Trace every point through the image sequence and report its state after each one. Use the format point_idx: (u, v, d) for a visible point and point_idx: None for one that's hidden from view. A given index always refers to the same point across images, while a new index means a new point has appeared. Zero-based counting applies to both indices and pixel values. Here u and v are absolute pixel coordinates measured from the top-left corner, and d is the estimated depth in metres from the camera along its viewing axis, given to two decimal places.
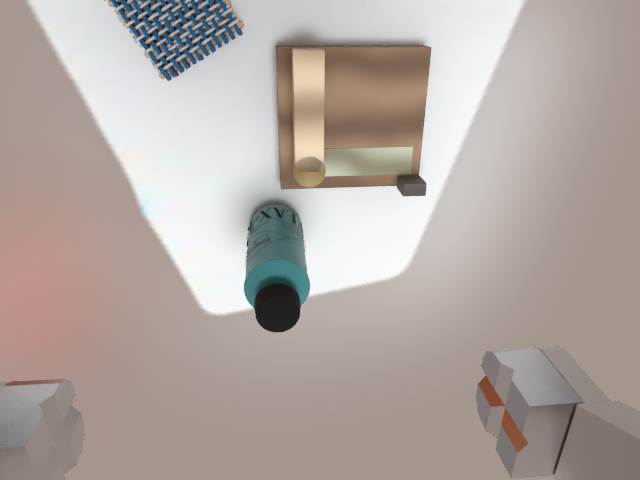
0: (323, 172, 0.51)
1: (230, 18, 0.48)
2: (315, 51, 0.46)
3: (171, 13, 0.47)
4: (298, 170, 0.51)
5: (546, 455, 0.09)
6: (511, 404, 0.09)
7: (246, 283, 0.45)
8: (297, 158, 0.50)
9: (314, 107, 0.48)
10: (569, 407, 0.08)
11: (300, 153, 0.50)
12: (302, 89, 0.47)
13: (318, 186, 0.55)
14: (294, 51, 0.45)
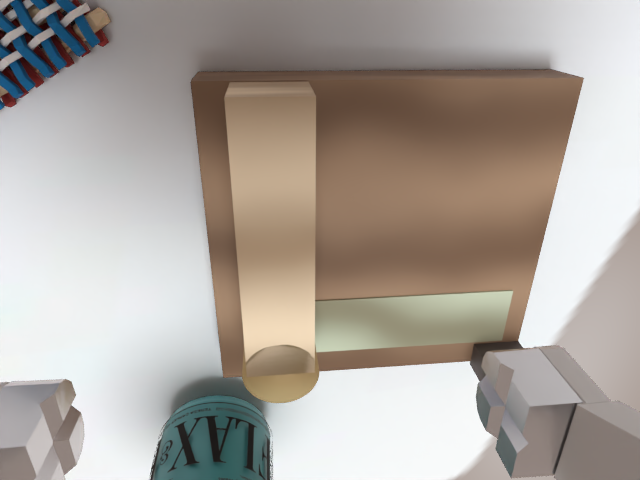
0: (314, 374, 0.21)
1: (62, 2, 0.18)
2: (289, 99, 0.16)
3: None
4: (253, 372, 0.21)
5: (546, 455, 0.09)
6: (511, 404, 0.09)
7: None
8: (250, 349, 0.20)
9: (290, 240, 0.18)
10: (569, 407, 0.08)
11: (257, 339, 0.20)
12: (257, 199, 0.17)
13: None
14: (228, 99, 0.16)
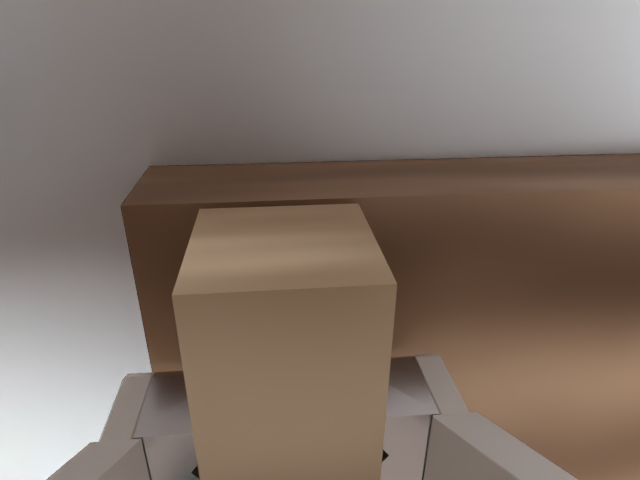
0: None
1: None
2: (332, 291, 0.06)
3: None
4: None
5: (410, 467, 0.08)
6: None
7: None
8: None
9: None
10: (426, 418, 0.08)
11: None
12: (254, 478, 0.08)
13: None
14: (182, 298, 0.06)
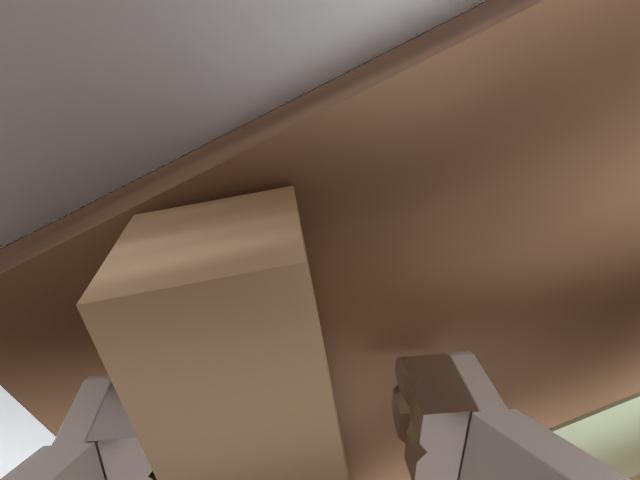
0: None
1: None
2: (240, 279, 0.06)
3: None
4: None
5: (447, 464, 0.08)
6: (412, 412, 0.08)
7: None
8: None
9: None
10: (465, 415, 0.08)
11: None
12: (214, 476, 0.08)
13: None
14: (88, 306, 0.06)
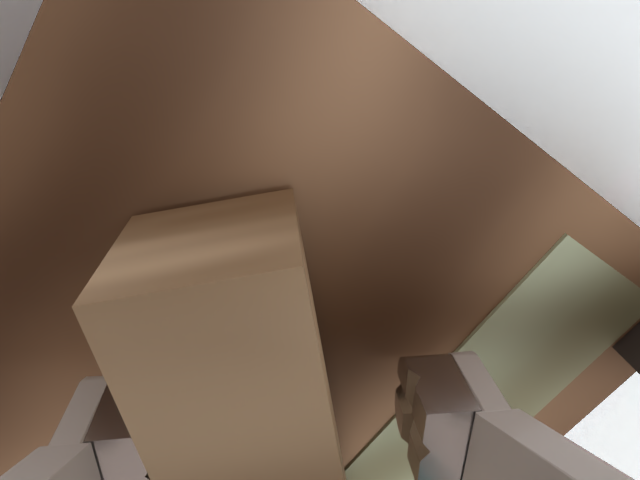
0: None
1: None
2: (237, 282, 0.06)
3: None
4: None
5: (451, 464, 0.08)
6: (415, 412, 0.08)
7: None
8: None
9: None
10: (468, 415, 0.08)
11: None
12: None
13: None
14: (84, 308, 0.06)
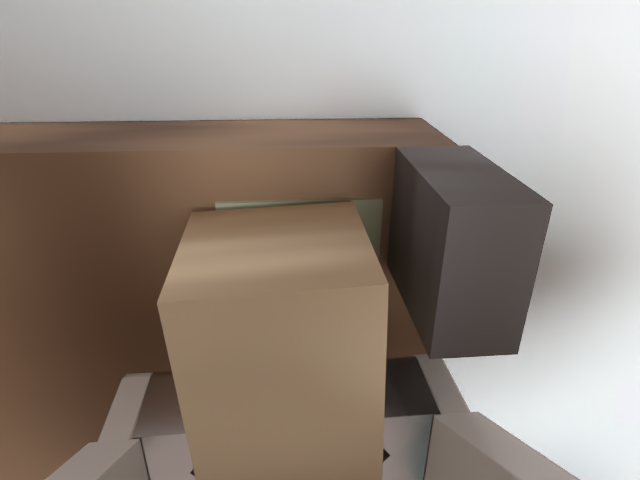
0: None
1: None
2: (322, 294, 0.06)
3: None
4: None
5: (412, 467, 0.08)
6: None
7: None
8: None
9: None
10: (427, 418, 0.08)
11: None
12: None
13: None
14: (168, 305, 0.06)
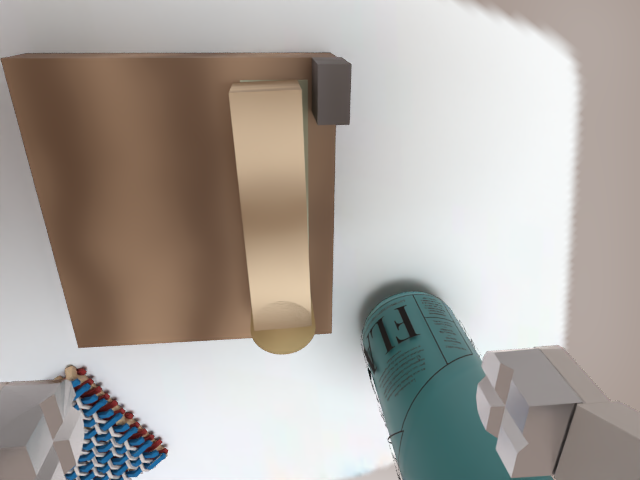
0: (311, 327, 0.25)
1: None
2: (280, 92, 0.20)
3: None
4: (260, 327, 0.25)
5: (546, 455, 0.09)
6: (510, 404, 0.09)
7: None
8: (256, 306, 0.24)
9: (286, 209, 0.22)
10: (569, 407, 0.08)
11: (261, 297, 0.24)
12: (257, 175, 0.21)
13: (329, 273, 0.28)
14: (231, 94, 0.20)
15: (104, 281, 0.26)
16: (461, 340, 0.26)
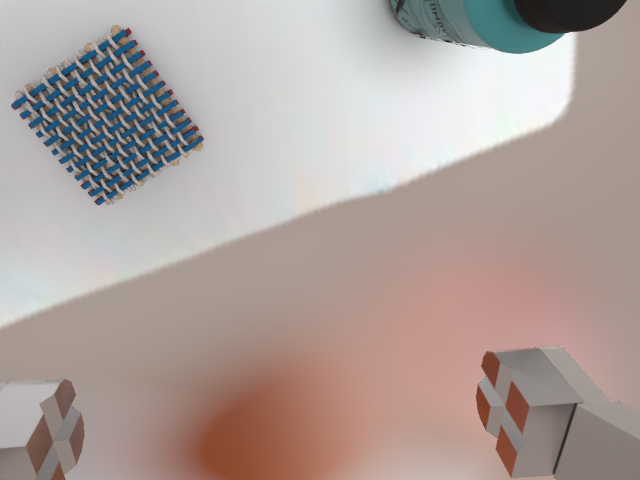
0: None
1: (105, 45, 0.33)
2: None
3: (113, 127, 0.36)
4: None
5: (546, 455, 0.09)
6: (511, 404, 0.09)
7: (504, 48, 0.22)
8: None
9: None
10: (569, 407, 0.08)
11: None
12: None
13: None
14: None
15: None
16: None
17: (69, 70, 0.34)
